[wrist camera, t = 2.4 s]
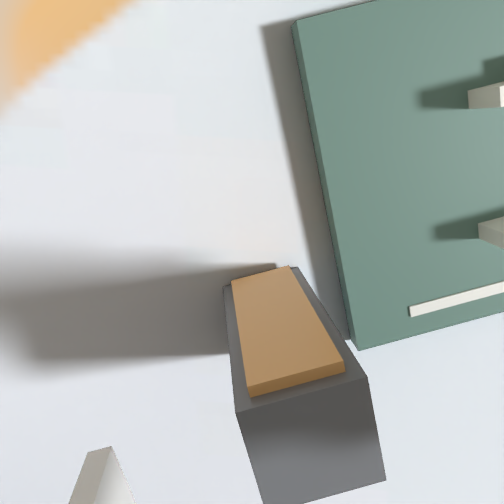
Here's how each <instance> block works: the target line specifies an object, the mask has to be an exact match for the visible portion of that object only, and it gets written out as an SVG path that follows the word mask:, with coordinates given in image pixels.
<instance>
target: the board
mask: <svg viewBox="0 0 504 504" xmlns="http://www.w3.org/2000/svg"><path fill="white" fill-rule="evenodd" d="M291 30H292V35H293V40H294V45H295V50H296V56H297V61H298V66H299V71H300V76H301V82H302V87H303V92H304V97H305V102H306V108H307V113H308V118H309V123H310V128H311V134H312V139H313V144H314V149H315V154H316V160H317V165H318V170H319V175H320V181H321V186H322V191H323V196H324V201H325V207H326V212H327V217H328V222H329V227H330V233H331V238H332V243H333V248H334V253H335V259H336V264H337V269H338V274H339V279H340V285H341V290H342V295H343V300H344V305H345V311H346V316H347V321H348V326H349V331H350V337H351V341H352V342H353V344H354V345H355V347H356V348H357V350H358V351H361V350H365V349H368V348H372V347H376V346H379V345H383V344H387V343H390V342H394V341H398V340H401V339H405V338H409V337H412V336H416V335H420V334H423V333H427V332H431V331H434V330H438V329H442V328H445V327H449V326H453V325H456V324H460V323H464V322H467V321H471V320H475V319H479V318H482V317H486V316H490V315H493V314H497V313H501V312H504V0H376V1H372V2H368V3H364V4H360V5H356V6H352V7H348V8H344V9H340V10H336V11H332V12H328V13H324V14H320V15H316V16H312V17H308V18H304V19H300V20H296V21H295V23H294V24H293V25H292V26H291Z"/></svg>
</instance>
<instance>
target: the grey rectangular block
mask: <svg viewBox="0 0 504 504" xmlns="http://www.w3.org/2000/svg"><path fill="white" fill-rule="evenodd" d="M231 284H232V285H228V286H224V287H223V292H224V302H225V312H226V323H227V333H228V343H229V353H230V364H231V374H232V384H233V394H234V405H235V414H236V417H237V420H238V423H239V427H240V430H241V433H242V436H243V440H244V443H245V446H246V449H247V453H248V456H249V459H250V462H251V465H252V469H253V472H254V475H255V478H256V482H257V485H258V488H259V491H260V495H261V498H262V501H263V504H304V503H307V502H311V501H314V500H318V499H322V498H325V497H329V496H332V495H336V494H339V493H343V492H346V491H350V490H354V489H357V488H361V487H364V486H368V485H371V484H375V483H379V482H382V481H386V475H385V470H384V464H383V459H382V453H381V448H380V443H379V437H378V432H377V426H376V421H375V415H374V410H373V405H372V399H371V394H370V388H369V383H368V377H367V375H366V374H365V372H364V371H363V369H362V367H361V366H360V364H359V363H358V361H357V360H356V358H355V356H354V355H353V353H352V352H351V350H350V348H349V347H348V345H347V344H346V342H345V341H344V339H343V337H342V336H341V334H340V333H339V331H338V330H337V328H336V326H335V325H334V323H333V322H332V320H331V318H330V317H329V315H328V314H327V312H326V311H325V309H324V307H323V306H322V304H321V303H320V301H319V299H318V298H317V296H316V295H315V293H314V292H313V290H312V288H311V287H310V285H309V284H308V282H307V281H306V279H305V277H304V276H303V274H302V273H301V271H300V269H299V268H298V267H295V268H292V269H290V267H289V265H288V266H284V267H281V268H277V269H273V270H269V271H266V272H262V273H258V274H254V275H250V276H247V277H243V278H239V279H235V280H232V281H231Z"/></svg>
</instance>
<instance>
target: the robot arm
mask: <svg viewBox="0 0 504 504" xmlns="http://www.w3.org/2000/svg"><path fill="white" fill-rule="evenodd" d="M69 504H137V503H136V501H135V499H134V497H133V494H132V492H131V490H130V487H129V485H128V483H127V481H126V478H125V476H124V474H123V471H122V469H121V467H120V464H119V462H118V460H117V458H116V455H115V453H114V451H113V448H112V446H110V447H107V448H103V449H99V450H95V451H91V452H88V453H87V456H86V459H85V461H84V464H83V467H82V469H81V472H80V475H79V477H78V480H77V483H76V485H75V488H74V491H73V493H72V496H71V499H70V501H69Z"/></svg>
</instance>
